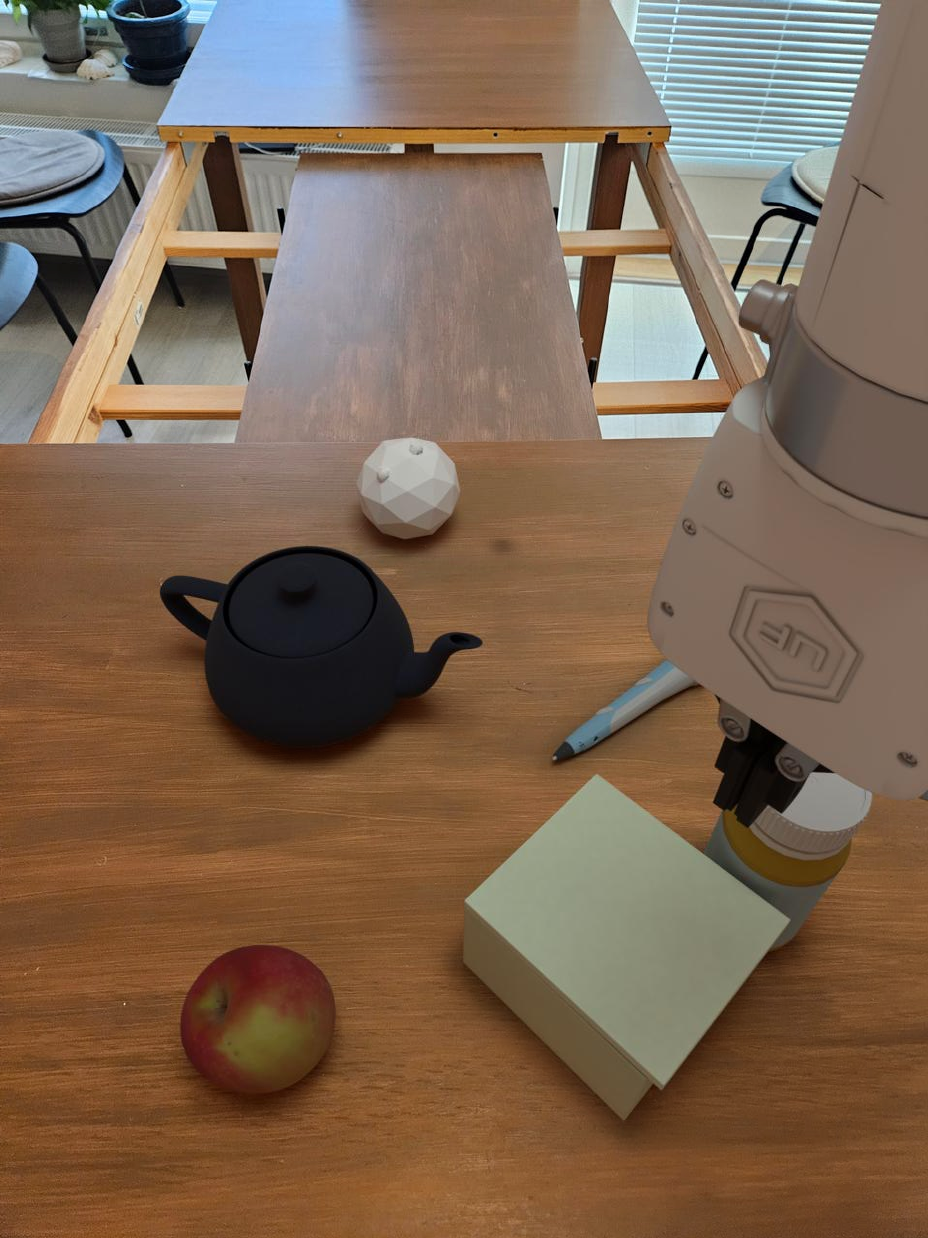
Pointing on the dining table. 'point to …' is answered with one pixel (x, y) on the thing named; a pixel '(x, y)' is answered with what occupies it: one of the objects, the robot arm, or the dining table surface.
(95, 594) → the dining table surface
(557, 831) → the lid
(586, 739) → the pen
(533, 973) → the chest
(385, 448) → the decorative ball
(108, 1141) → the dining table surface
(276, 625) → the teapot
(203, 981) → the apple
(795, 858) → the bottle
